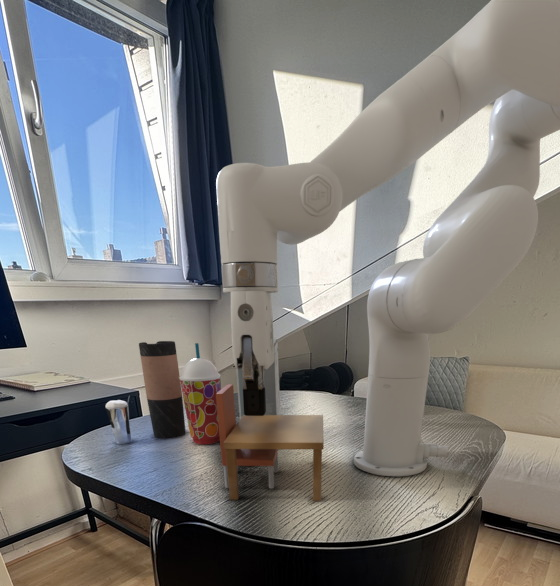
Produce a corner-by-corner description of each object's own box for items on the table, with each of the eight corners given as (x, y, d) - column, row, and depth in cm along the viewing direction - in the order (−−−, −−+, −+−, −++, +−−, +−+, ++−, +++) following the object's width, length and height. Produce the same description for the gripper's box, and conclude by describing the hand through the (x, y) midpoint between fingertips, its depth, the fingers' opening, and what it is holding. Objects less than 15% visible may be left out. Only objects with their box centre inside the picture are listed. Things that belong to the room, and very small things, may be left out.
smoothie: (194, 435, 94) (183, 342, 85) (230, 435, 92) (222, 341, 84) (181, 446, 86) (168, 345, 78) (220, 447, 85) (211, 344, 77)
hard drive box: (248, 429, 97) (243, 339, 89) (281, 428, 97) (278, 338, 89) (240, 449, 83) (233, 345, 75) (278, 449, 83) (275, 344, 74)
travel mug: (178, 439, 91) (165, 343, 82) (146, 438, 92) (131, 344, 84) (191, 430, 97) (181, 340, 89) (162, 429, 99) (149, 341, 90)
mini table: (322, 464, 74) (323, 414, 71) (322, 501, 60) (323, 442, 56) (246, 463, 76) (242, 415, 72) (228, 500, 61) (223, 442, 57)
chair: (278, 470, 71) (276, 383, 65) (274, 488, 64) (271, 393, 58) (233, 470, 72) (227, 384, 66) (224, 488, 65) (215, 393, 59)
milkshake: (134, 444, 88) (125, 398, 84) (109, 445, 88) (99, 398, 84) (141, 438, 92) (133, 393, 88) (117, 439, 92) (108, 394, 88)
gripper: (271, 276, 49) (274, 427, 56) (281, 283, 62) (283, 404, 70) (209, 277, 49) (220, 426, 57) (233, 284, 63) (239, 404, 70)
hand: (255, 414), depth 63 cm, fingers closed
